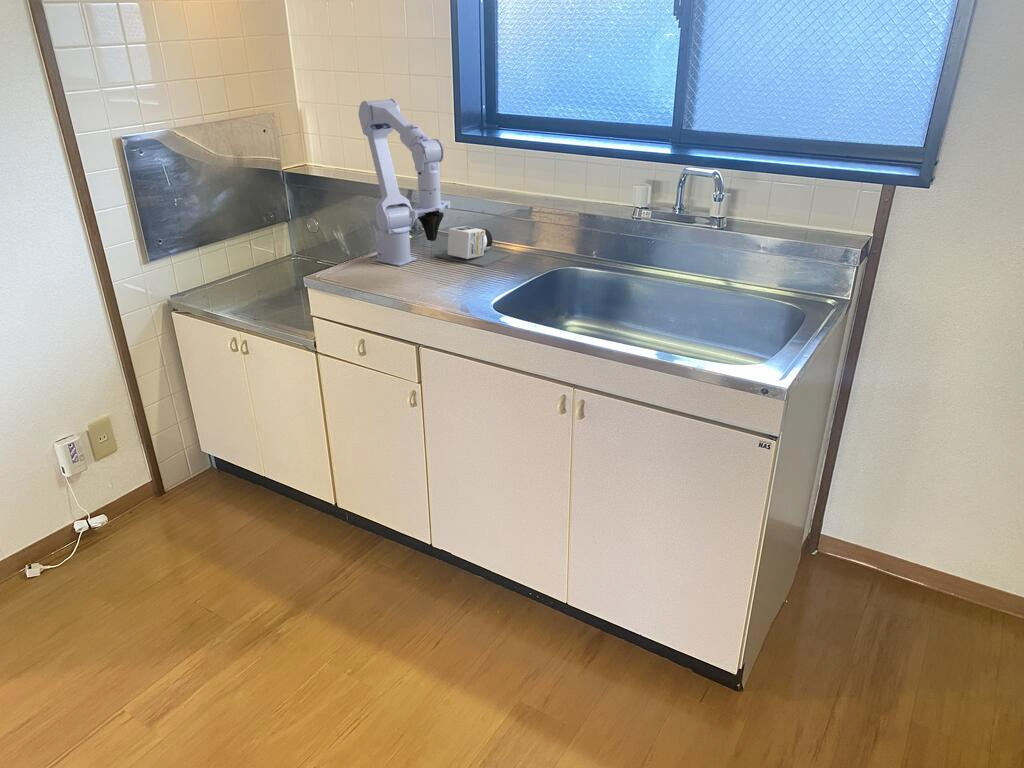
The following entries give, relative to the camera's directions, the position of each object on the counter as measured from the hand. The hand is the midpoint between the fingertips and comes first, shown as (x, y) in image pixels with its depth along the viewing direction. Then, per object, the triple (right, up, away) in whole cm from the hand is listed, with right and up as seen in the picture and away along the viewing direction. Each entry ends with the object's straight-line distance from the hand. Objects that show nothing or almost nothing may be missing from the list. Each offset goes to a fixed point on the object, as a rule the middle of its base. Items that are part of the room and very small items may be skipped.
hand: (431, 240), depth 207 cm
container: (+6, +2, +15) cm, 17 cm away
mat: (+10, -1, +22) cm, 24 cm away
